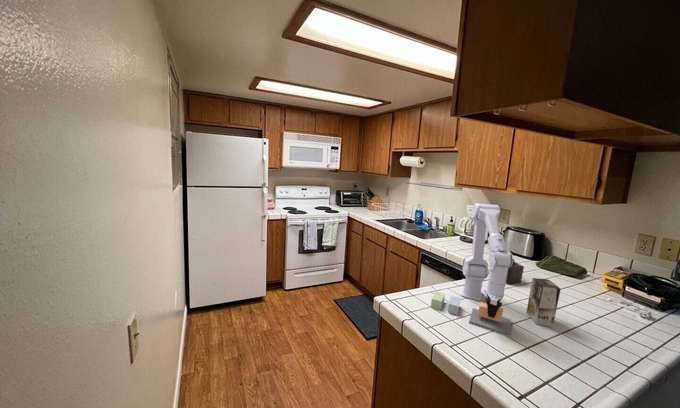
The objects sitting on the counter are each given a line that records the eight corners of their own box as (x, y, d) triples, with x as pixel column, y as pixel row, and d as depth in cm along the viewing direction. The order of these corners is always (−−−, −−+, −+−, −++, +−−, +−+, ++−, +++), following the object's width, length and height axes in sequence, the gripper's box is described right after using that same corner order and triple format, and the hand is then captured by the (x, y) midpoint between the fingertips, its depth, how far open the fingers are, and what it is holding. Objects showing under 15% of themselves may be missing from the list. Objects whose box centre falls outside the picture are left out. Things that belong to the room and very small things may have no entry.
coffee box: (553, 327, 110) (561, 289, 108) (535, 324, 112) (543, 286, 109) (542, 315, 119) (549, 279, 116) (525, 312, 120) (532, 277, 118)
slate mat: (472, 309, 120) (472, 307, 120) (510, 321, 113) (511, 319, 113) (469, 323, 110) (469, 321, 109) (510, 336, 103) (510, 334, 102)
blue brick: (449, 304, 124) (450, 295, 123) (459, 306, 122) (460, 298, 121) (447, 312, 116) (448, 303, 116) (457, 315, 115) (459, 306, 114)
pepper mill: (522, 282, 151) (528, 250, 148) (508, 285, 147) (514, 252, 144) (497, 271, 165) (502, 241, 162) (483, 273, 161) (488, 242, 158)
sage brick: (434, 299, 127) (435, 291, 126) (443, 302, 125) (445, 294, 124) (430, 307, 120) (431, 298, 119) (440, 310, 118) (441, 301, 117)
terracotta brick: (478, 315, 111) (479, 306, 111) (479, 311, 115) (480, 301, 114) (501, 322, 107) (502, 312, 107) (501, 317, 111) (503, 308, 110)
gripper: (486, 272, 116) (481, 303, 119) (483, 285, 104) (478, 319, 106) (506, 277, 113) (500, 308, 115) (505, 291, 101) (499, 325, 103)
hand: (491, 314), depth 111 cm, fingers closed on terracotta brick, 4 cm apart
